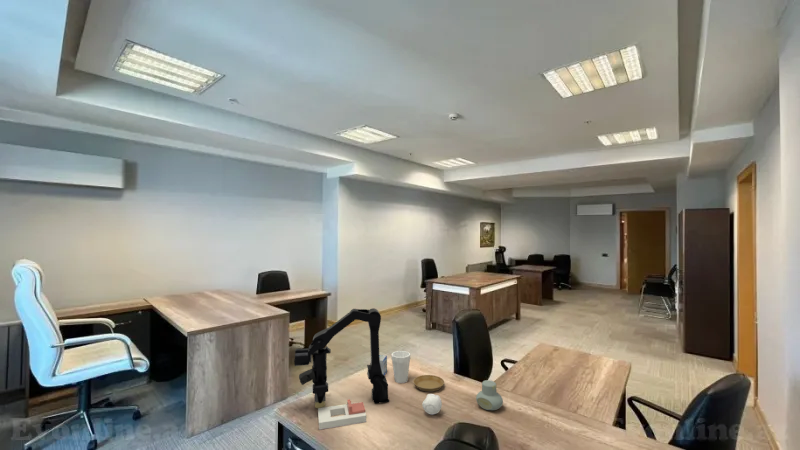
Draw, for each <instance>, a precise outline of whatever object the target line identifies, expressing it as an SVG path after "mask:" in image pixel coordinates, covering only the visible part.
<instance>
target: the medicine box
mask: <svg viewBox="0 0 800 450" xmlns="http://www.w3.org/2000/svg"><path fill="white" fill-rule="evenodd" d="M379 357H380V366H381V370H382V374H383V375H384V376H385V377H386V374H387V372H388V356H387V355H384V354H379Z"/></svg>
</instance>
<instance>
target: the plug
mask: <svg viewBox="0 0 800 450" xmlns="http://www.w3.org/2000/svg"><path fill="white" fill-rule="evenodd" d="M314 407H315V409H318V408H324V407H326V395H325V396H324V398H323V401H322V403H319V402H318V397H317V394H314Z"/></svg>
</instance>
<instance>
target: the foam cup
mask: <svg viewBox="0 0 800 450" xmlns="http://www.w3.org/2000/svg"><path fill="white" fill-rule="evenodd" d="M390 356H391V363H392V370H393V377H394V382H395V383H397V384H405V383H407V382H408V379H409V371H410V360H411V353H410V352H409V351H406V350H397V351H393V352H392V353H391V355H390Z"/></svg>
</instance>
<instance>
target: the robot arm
mask: <svg viewBox="0 0 800 450" xmlns="http://www.w3.org/2000/svg"><path fill="white" fill-rule="evenodd" d="M381 320H382V315H381V313H380V312H379V310H378V309H377V308H370V309H365V308H363V309H362V308H361V309H359V308H352V309H351V310H350V311H349V312H347V313H346V314H345V315H344V316H342V317H341V318H339V320H337V321H336V322H335V323H333V324H332V325H331V326H329V327H327V328H324V329H322V330H320V331H318V332H317V333H315V334H314V336H313V338H312V342H311V343H310V344H309V346H308V348H296V349H295V350H294V359H293V361H294V363H293V364H294V367H300V366H301V367H302V366H309V364H310V363H312V365H311V368H310V369H307V370H305V371H303V372H301V373H300V374H299V376H298V379H299V383H300V384H301V385H302V386H304V385H306V384H307V383H308V382H312V383H313V384H312V394H313V395H315V394H317V397H318V402H319V403H322V401H323V398H324V396H325V397H326V393H328V392H329V383H328V382H327V381H328V376H327V370H328V366H327V354H331V351H332V350H331V348H329V346H327V345H328V344H329V343H330V342H331V341H332V339H333V338H334V337H335V336H336V335H337V334H339V333H340V332H342V331H343V330H345V328H346V327H348V326H350V325H351V324H352V323H353V322H354V321H361V322H365V323H366V322H367V323H368V329H369V343H370V344H369V345H370V346H369V347H370V363H369V364H367V365H366V368H367V371H366V372H367V373H366V375H367V379H368V380H369V381H370V384H371V385H372V388H371V400H372V401H373V403H374V404H375V405H376V404H384V403H388V402H390V399H389V384H388V381H387V377H386V375H385V376H384V375H383V374H382V370H381V366H380V357H379V355H380V339H379V338H380V334H379V331H380V327H381V322H382V321H381Z"/></svg>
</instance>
